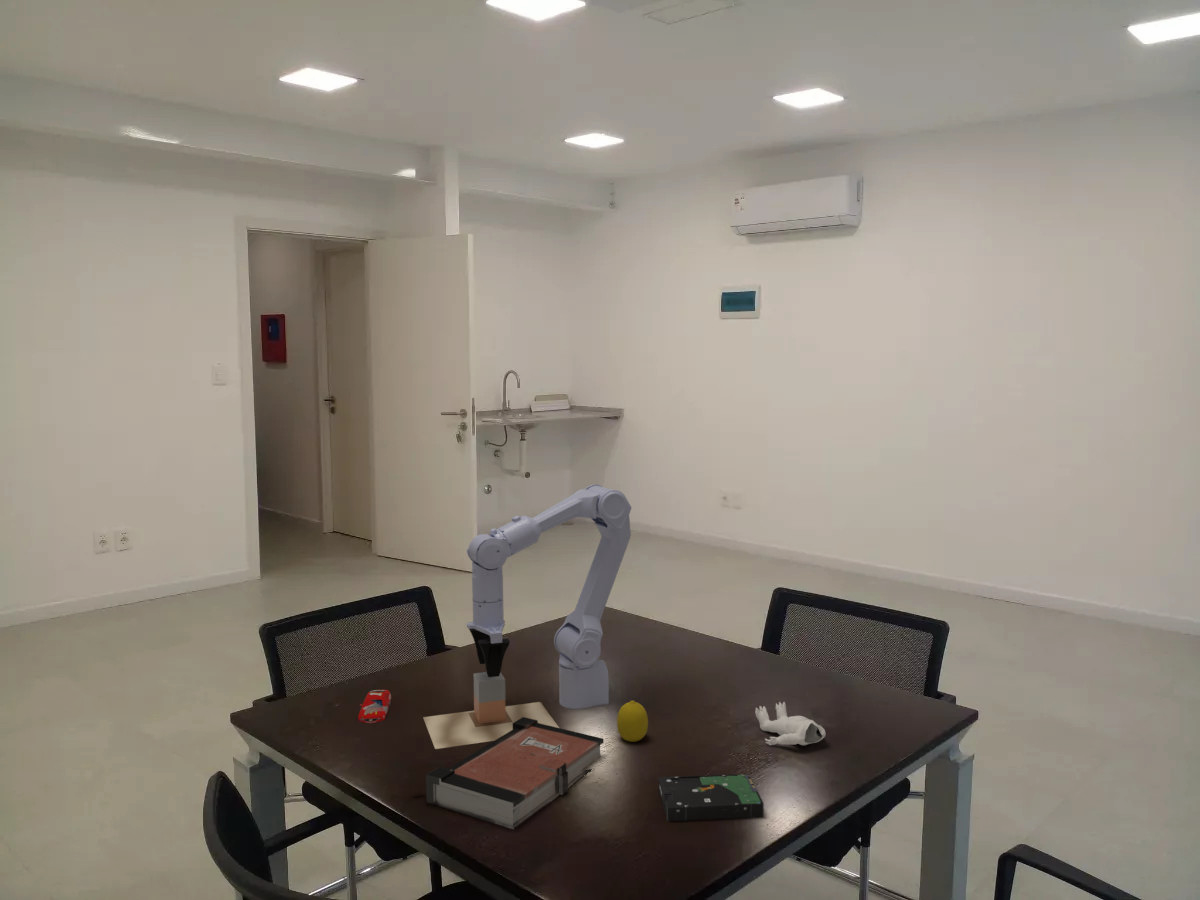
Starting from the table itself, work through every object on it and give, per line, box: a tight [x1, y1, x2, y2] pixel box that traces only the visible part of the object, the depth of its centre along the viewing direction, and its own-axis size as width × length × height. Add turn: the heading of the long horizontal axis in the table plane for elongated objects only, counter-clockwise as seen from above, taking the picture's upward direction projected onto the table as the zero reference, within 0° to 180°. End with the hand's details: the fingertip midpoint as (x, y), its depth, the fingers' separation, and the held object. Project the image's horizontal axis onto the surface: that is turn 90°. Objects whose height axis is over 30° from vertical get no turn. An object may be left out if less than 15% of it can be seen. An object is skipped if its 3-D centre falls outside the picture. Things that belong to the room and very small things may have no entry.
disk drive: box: [658, 773, 765, 822], centre depth 142 cm, size 10×3×15 cm
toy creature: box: [754, 701, 827, 746], centre depth 166 cm, size 12×6×12 cm
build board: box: [422, 701, 560, 750], centre depth 171 cm, size 23×15×1 cm, turn 109°
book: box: [425, 717, 605, 830], centre depth 150 cm, size 26×18×5 cm
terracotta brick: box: [473, 694, 506, 724], centre depth 173 cm, size 5×5×4 cm
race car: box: [357, 689, 392, 724], centre depth 178 cm, size 13×5×4 cm, turn 4°
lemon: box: [616, 699, 649, 743], centre depth 164 cm, size 6×6×8 cm
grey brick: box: [473, 671, 507, 703], centre depth 173 cm, size 5×5×4 cm
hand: (489, 669), depth 173 cm, fingers open, 7 cm apart
